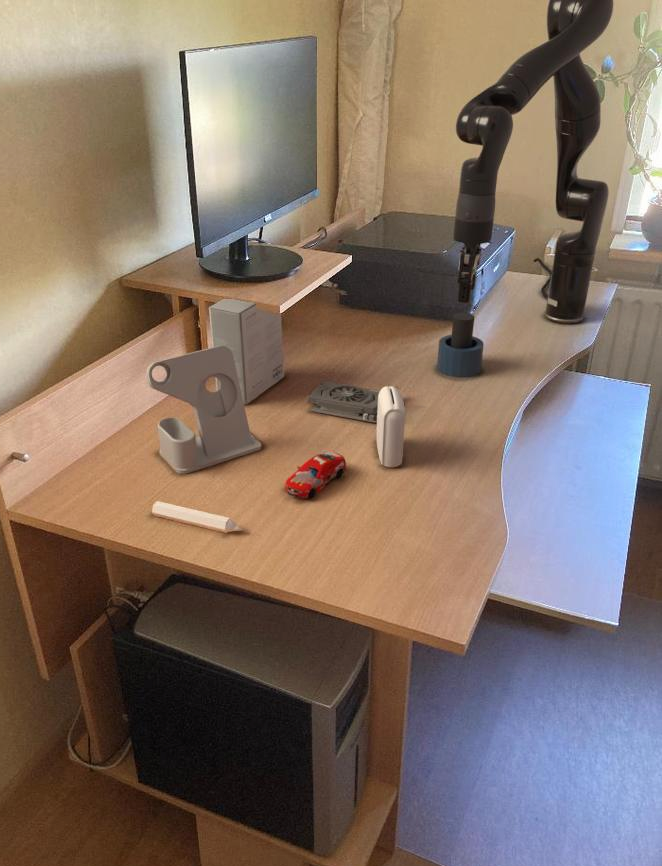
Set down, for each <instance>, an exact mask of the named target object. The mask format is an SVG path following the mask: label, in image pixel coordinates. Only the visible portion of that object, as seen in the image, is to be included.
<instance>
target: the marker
mask: <svg viewBox="0 0 662 866" xmlns="http://www.w3.org/2000/svg"><path fill="white" fill-rule="evenodd" d="M151 513H152V514H153V516H155V517H158V518H162V519H167V520H171V521H174V522H179V523H183V524H187V525H190V526H191V525H192V526H195V527H200V528H204V529H208V530H212V531H215V532H216V531H217V532H220V533H224V534H228V533H230V532H239V531H244V528H242V527H241V526H239V525H237V523H236V522H234V521H233V520H232V518H230V517H227V516H223V515H219V514H215V513H211V512H206V511H201V510H198V509H193V508H189V507H184V506H179V505H175V504H172V503H167V502H162V501H158V500H156V501H155V502H154V504H153V505H152V509H151Z"/></svg>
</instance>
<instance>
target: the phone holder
mask: <svg viewBox="0 0 662 866" xmlns="http://www.w3.org/2000/svg"><path fill="white" fill-rule="evenodd" d="M156 367H162V368H163V369H164V370H165V378H164V379H163V380H162V381H158V380H156V379H154V377H153V370H154V369H155V368H156ZM145 376H146V380H147V384H148V386H149V387H150V388H151V389H153V390H155V391H157V392H160V393H163V394H165V395H168V396H170V397H173V398H175V399H176V400H180V401H182V402H185V403H187V404H189V405H190V406H191V407H192V409H193V413H194V417H195V422H196V425H197V429H198V434H199V435H196V433H195V431H194V430H192V429H191V427H189V426H188V425H187V424H186V423H185V422H184V421H183V420H181V419H180V418H177V417H166V418H163V419H161V420H160V421H159V422H157V433H158V440H159V449H158V450H159V451H158V452H159V456H161V458H162V459H163V460H164V461H165V462H166V463H167V465H169V466H170V467H171V468H172V469H173V470H174V471H175V473H177V474H180V475H186V474H190V473H192V472H196V471H199V470H202V469H205V468H209V467H211V466H214V465H217V464H220V463H221V464H222V463H225V462H227V461H229V460H233V459H236V458H240V457H243V456H246V455H249V454H251V453H256V452H258V451H260V450H261V449H262V443H261V441H259V439H257V438H256V437H254V436H253V435H252V434H251V430H250V426H249V421H248V416H247V412H246V408H245V405H244V402H243V398H242V393H241V389H240V384H239V380H238V375H237V371H236V366H235V362H234V357H233V354H232V351H231V350H230V349H229V348H227V347H225V346H216V347H213V346H212V347H209V348H205V349H201V350H196V351H193V352H188V353H185V354H181V355H177V356H173V357H169V358H168V357H167V358H165V359H161V360H157V361H153V362H151V363H150V364H148V366H147V368H146V372H145ZM212 377H213V378H215V377H216V378H217V379H218V380H219V382H220V387H219V389H218V390H217V389H216V391H213V392H212V391H210V390H208V389H207V387H206V381H208V380H209V379H210V378H212ZM216 378H215V379H216Z"/></svg>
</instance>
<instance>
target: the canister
mask: <svg viewBox="0 0 662 866" xmlns="http://www.w3.org/2000/svg"><path fill="white" fill-rule="evenodd" d="M474 325H475V315H473V314H472V313H468V312H457V313H455V314H453V317H452V327H451V335H452V337H451V347H453V348H458V349H469V348H471V344H472V336H474V334H473V333H474Z"/></svg>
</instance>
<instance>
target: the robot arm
mask: <svg viewBox="0 0 662 866" xmlns="http://www.w3.org/2000/svg"><path fill="white" fill-rule="evenodd" d="M613 12H614V0H549V1H548V5H547V11H546V31H547V39H548V40H547V41H545V42H543V43H541V44H540V45H538V46H535V47H534V48H532V49H530V50H529V51H526V52H525V53H524V54H522V55H521V56H520V57H518V59H516V60H515V61H514V62H513V63H512V64H511V65H510V66H509V67H508V68H507V70H506V71H504V73H503V74H502V75H501V76H500V78H499V79H498V80H497V81H496V82H495V83H494V84H492V85H490V86H489V87H486V88H485V89H484V90H483V91H482V92H481V91H480V93H478V94H476V95H475V96H474V97H472V98H471V99H470V100H469V101H468V102H467V103H466V104H465V105H464V106H463V107H462V108H461V110H460V112H459V113H458V115H457V118H456V120H455V121H456V122H455V132H456V136H457V138H458V139H459V140H461V142H463V143H466V144H470V145H476V146H480V147H481V146H482V147H481V150H480V153H479V155H478V157H470V158H467V159H466V160H463V162H462V164H461V168H460V175H459V176H460V177H459V185H458V186H459V188H458V195H457V199H456V203H455V204H456V205H455V215H454V227H453V237H452V238H453V239H454V240H455V241H456V242H458V243H462V244H464V246H461V250H459V263H458V278H457V284H458V286H459V287H458V297H457V301H458V302H459V303H463V304H464V303H465V304H467V303H469V302H470V297H471V296H470V295H471V291H473V290H474V289H475V287H476V276H477V272H478V269H479V265H480V262H481V257H482V251H483V248H482V247H481V245H482V244H486V243H488V242H490V241H491V240H492V236H493V229H494V228H493V227H494V219H495V211H496V191H497V185H498V175H499V169H500V166H501V164H502V161H503V158H504V156H505V153H506V150H507V148H508V145H509V143H510V140H511V137H512V134H513V130H514V120H513V119H514V118H513V115H517V114H519V113H520V112H521V111H522V110H523V109H524V108H525V107H526V106H527V105H528V104H529V103H530V101H531V100H532V99H533V98H534V97H535V96H536V94H537V93H538V92H539V91H540V90H541V89H542V88H543V87H544V86H545V84H546V83H547V82H548V81H549V80H550V79H551V78H552V77H553V89H554V92H553V93H554V125H555V138H556V140H555V141H556V180H555V181H556V183H555V210H556V213H557V215H558V216H559V217H560V218H562V219H565V220H570V221H575V222H576V221H577V222H582V225H581V228H580V229H578V230H576V231H570V232H566V233H563V234H560V235H559V236H558V237H557V239H556V244H555V251H554V257H553V263H552V269H550V268H549V267H548V266H546V264H544V262H543V261H542V260H541V258H539V257H535V258H534V260H533V262H534V263H537V262H538V263H539V264H540V266H541V267H542V268H543V269H544V270H545V271H547V273H548V274H549V278H548V279H547V280H546V281H545V284H544V285H542V287H541V290H540V292H541V294H542V296H543V297H544V298H545V300H546V306H545V310H544V315H543V316H544V318H545V319H546V320H548V321H550V322H553V323H557V324H563V325H564V324H565V325H566V324H567V325H569V324H571V325H572V324H578V323H581V322H582V321H583V320H584V316H585V314H584V313H585V308H586V305H587V304H586V303H587V298H588V293H589V287H590V282H591V277H592V272H593V266H594V262H595V257H596V256H595V255H596V251H597V246H598V245H597V244H598V242H599V239H600V235H601V231H602V225H603V222H604V217H605V213H606V209H607V206H608V200H609V195H610V194H609V193H610V192H609V191H610V190H609V186H608V184H607V183H606V182H605V181H602V180H595V179H588V178H580V177H578V164H579V162H580V160H581V159H582V157H583V156H584V154H585V153H586V151H587V150H588V148H589V147H590V146H591V145H592V143H593V142H594V141H595V139H596V137H597V135H598V133H599V132H600V128H601V120H602V119H601V118H602V117H601V114H602V113H601V111H602V109H601V106H602V105H601V102H602V99H601V93H600V91H599V89H598V86H597V84H596V82H595V81H594V79H593V77H592V75H591V74H590V72H589V71H588V69H587V67H586V65H585V63H584V61H583V59H582V56H581V53H582V52H584V50H586V49H588V48H589V47H591V45H592V44H594V43H595V41H597V40H598V39H599V38H600V37H601V36H602V35H603V33H604V32H605V31H606V29H607V28H608V26H609V24H610V22H611V19H612V16H613ZM548 285H549V287H548ZM547 287H548V294H547V293H546V291H545V289H546V288H547Z"/></svg>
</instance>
